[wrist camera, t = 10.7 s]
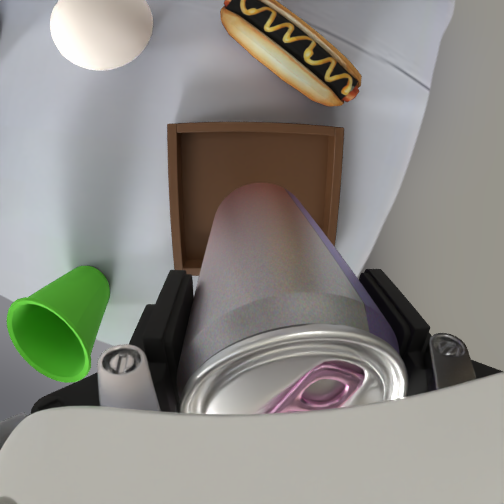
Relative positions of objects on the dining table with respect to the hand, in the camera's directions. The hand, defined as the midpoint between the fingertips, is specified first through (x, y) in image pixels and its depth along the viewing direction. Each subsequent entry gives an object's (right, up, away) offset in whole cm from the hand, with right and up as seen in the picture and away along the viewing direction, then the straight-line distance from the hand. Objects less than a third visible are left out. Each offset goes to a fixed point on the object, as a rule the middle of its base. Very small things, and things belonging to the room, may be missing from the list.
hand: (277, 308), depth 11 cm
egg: (-12, +21, +11) cm, 27 cm away
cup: (-19, -2, +20) cm, 28 cm away
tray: (-1, +7, +17) cm, 19 cm away
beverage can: (0, +4, +9) cm, 10 cm away
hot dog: (+2, +20, +13) cm, 23 cm away
